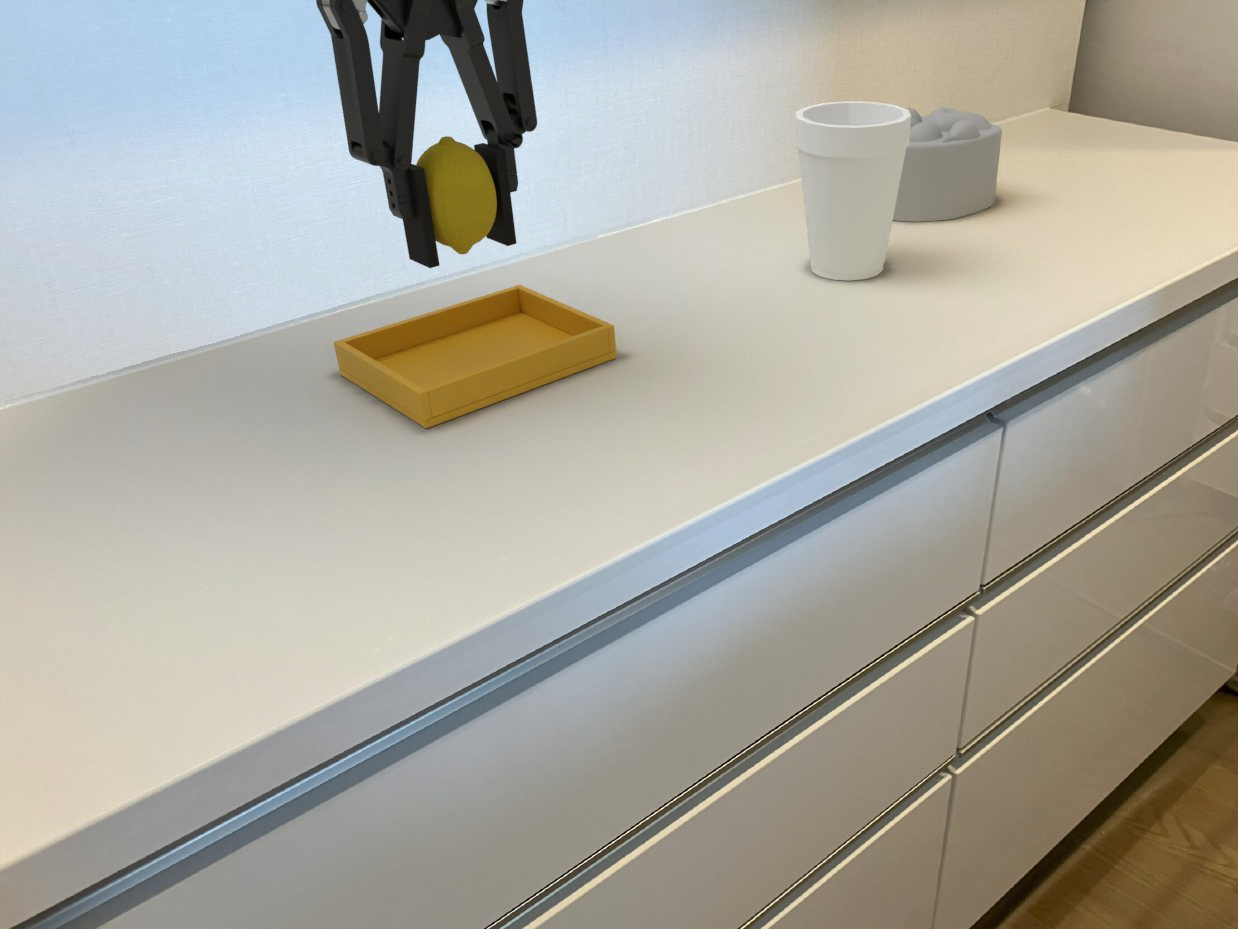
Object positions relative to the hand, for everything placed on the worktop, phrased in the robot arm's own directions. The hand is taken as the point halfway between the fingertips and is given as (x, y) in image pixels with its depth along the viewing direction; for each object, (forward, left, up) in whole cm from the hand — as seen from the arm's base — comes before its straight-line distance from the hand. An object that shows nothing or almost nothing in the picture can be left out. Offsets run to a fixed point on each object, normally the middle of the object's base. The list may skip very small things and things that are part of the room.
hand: (463, 250), depth 80 cm
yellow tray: (0, 0, -9) cm, 9 cm away
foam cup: (+27, +22, -9) cm, 36 cm away
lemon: (0, 0, -1) cm, 1 cm away
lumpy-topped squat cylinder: (+35, +41, -9) cm, 55 cm away
